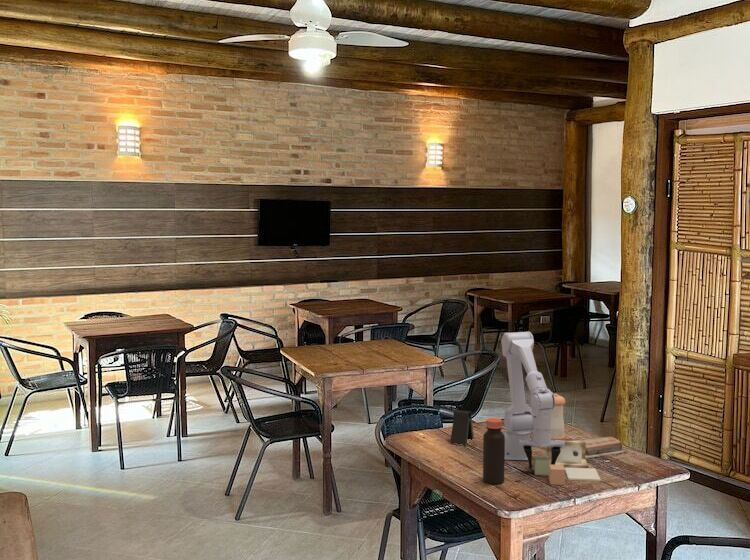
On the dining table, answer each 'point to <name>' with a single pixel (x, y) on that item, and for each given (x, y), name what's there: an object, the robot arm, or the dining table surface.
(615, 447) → the packaged product
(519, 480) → the dining table surface
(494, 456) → the bottle
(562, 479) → the terracotta block
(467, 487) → the dining table surface
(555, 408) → the pepper shaker
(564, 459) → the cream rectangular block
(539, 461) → the sage block
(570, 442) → the beige box
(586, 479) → the mat
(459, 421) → the phone stand
